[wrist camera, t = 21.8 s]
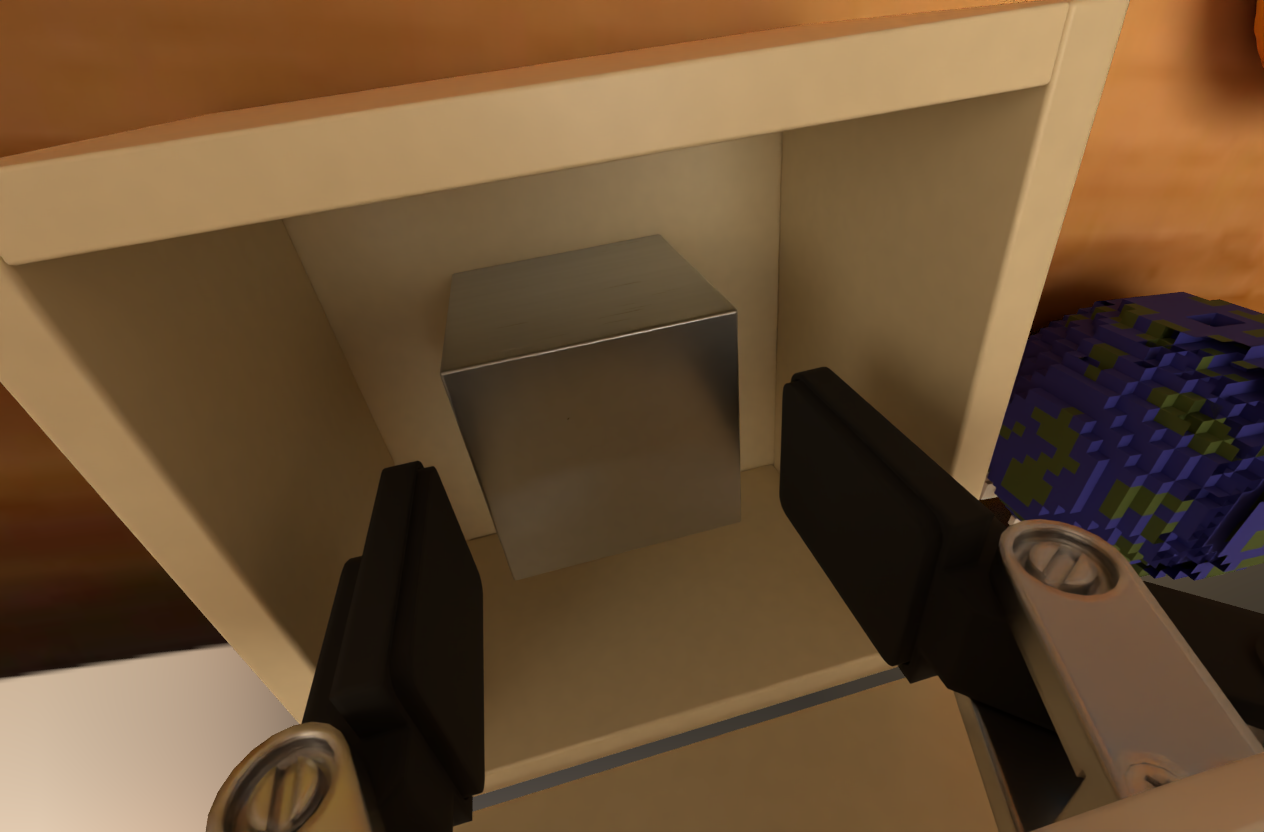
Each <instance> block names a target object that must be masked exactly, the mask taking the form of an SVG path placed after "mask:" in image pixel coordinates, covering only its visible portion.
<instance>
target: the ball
mask: <svg viewBox="0 0 1264 832" xmlns="http://www.w3.org/2000/svg"><path fill="white" fill-rule="evenodd" d="M994 497H999V498H1000V501H1001V502H1003V503H1004V504H1005V507H1006V508H1008V509H1009V510H1010V511H1011V514H1013V515H1012V516H1011V518H1010V520H1009V522H1008V524H1010V525H1013V524H1015V523H1018V522H1021V521H1024V520H1035V519H1043V520H1052V521H1060V522H1063V523H1067V524H1070V525H1074V526H1077V527H1080V528H1082V529H1084V530H1086V531H1089V532H1091V533H1093V534H1095V535H1097V536H1099V537H1100V538H1102V539H1103V540H1105V541H1106V542H1108V543H1109V544H1111V545H1112V546H1114V547H1115V548H1116V549H1117V550H1118V551H1119V552H1120V553H1121V554H1122V555H1123V556H1124V557H1125V558H1126V559H1127V560H1128V562H1129V563H1130V564H1131V566H1132V567H1133V569H1134V570H1135V571H1136V573H1137V574H1138V575H1139V577H1142V576H1146V575H1151V576H1152V577H1153V578H1159V577H1164V576H1170V577H1171V578H1172V579H1179V578H1183V577H1187V576H1189V577H1190V578H1191V579H1193V580H1199V579H1203V578H1207V577H1212V576H1216V575H1220V574H1224V573H1229V572H1233V571H1238V570H1242V569H1246V568H1247V567H1248V566H1253V565H1257V564H1261V563H1264V314H1262V313H1259V312H1256V311H1253V310H1250V309H1247V308H1244V307H1241V306H1238V305H1235V304H1232V303H1229V302H1226V301H1223V300H1220V299H1219V300H1211V301H1209V300H1206V299H1203V298H1200V297H1197V296H1194V295H1191V294H1188V293H1185V292H1178V293H1169V294H1160V295H1151V296H1141V297H1132V298H1123V299H1114V300H1105V301H1097V302H1094V304H1093V306H1092V307H1089V308H1080V309H1079V310H1078V312H1077V314H1070V315H1064V317H1063V319H1062V320H1058V321H1050V323H1049V326H1048V327H1046V328H1041V329H1040V331H1039V333H1037V334H1035V335H1031V336H1030V338H1029V339H1028V340H1027V343H1026V346H1025V349H1024V353H1023V356H1022V359H1021V363H1020V366H1019V369H1018V373H1017V376H1016V379H1015V383H1014V386H1013V389H1012V392H1011V396H1010V399H1009V402H1008V406H1007V409H1006V412H1005V416H1004V419H1003V422H1002V426H1001V429H1000V432H999V435H998V439H997V442H996V445H995V449H994V452H993V455H992V459H991V462H990V465H989V468H988V472H987V475H986V478H985V482H984V485H983V488H982V492H981V495H980V499H981V500H983V499H988V498H994Z"/></svg>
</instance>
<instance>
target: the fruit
mask: <svg viewBox="0 0 1264 832" xmlns="http://www.w3.org/2000/svg"><path fill="white" fill-rule="evenodd" d="M1254 33H1255V36H1256V40H1257V50H1258V53H1259V56H1260V60H1261V63H1262V66H1263V69H1264V0H1257V6H1256V17H1255V20H1254Z"/></svg>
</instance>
